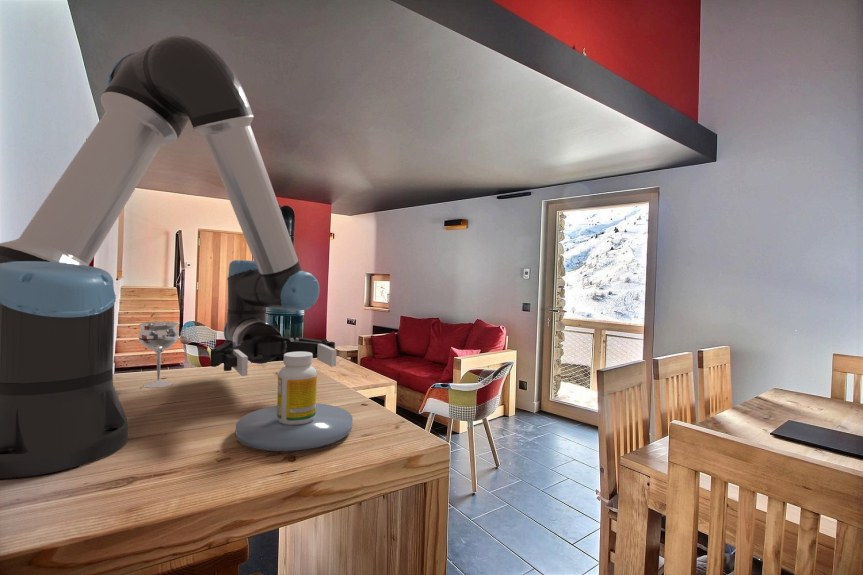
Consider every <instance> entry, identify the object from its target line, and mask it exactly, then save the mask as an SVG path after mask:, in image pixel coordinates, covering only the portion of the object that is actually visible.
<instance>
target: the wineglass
mask: <svg viewBox="0 0 863 575" xmlns="http://www.w3.org/2000/svg"><path fill="white" fill-rule="evenodd" d="M179 324H180V323H179V322H173V321H172V322H171V321H155V322H152V321H151V322H141V323H139V324H138V326H140V330H139V332H138V340H139V342H140V344H142V345H143V346H144V347H145V348H146V349H150V350H152V351H153V352H154V353H156V375H157V376H156V377H157V378H156V380H154V381H150V382H147V383H145V384H143V385H142V386H143V387H144V388H149V389H151V388H153V389H155V388H164V387H169V386H172V385H173V384H174V382H172V381H168V380H162V379H160V378H161V377H160V376H161V365H162V364H161V362H162V361H161V359H162V353H163V352H164V351H165V350H167V349H168V348H170V347H172V346H173V345H174V344H175V343H176V342H177V341H178V339H179V336H180V333H179V329H178V326H179Z"/></svg>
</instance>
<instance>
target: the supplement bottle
mask: <svg viewBox="0 0 863 575" xmlns="http://www.w3.org/2000/svg"><path fill="white" fill-rule="evenodd" d="M284 353H285V354H284V357H283V365H284V367H282V368H280V370H279V371H278V374H277V402H276V404H277V405H276V406H277V419H278V421H279V422H280V423H282V424H286V425H300V424H306V423H309V422H311V421H312V420H314V418H315V416H316V403H317V386H318V385H317V383H318V382H317V380H318V378H317V377H318V373H317V370H316V368H315V367H314V366H312V363H313V361H314V359H313V358H314V357H313V354H312V353H310V352H302V351H299V352H289V353H286V352H284Z"/></svg>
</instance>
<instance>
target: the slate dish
mask: <svg viewBox="0 0 863 575" xmlns="http://www.w3.org/2000/svg"><path fill="white" fill-rule="evenodd" d="M352 428H353V415H352V414H351V413H350V412H349V411H348V410H346V409H344V408H342V407H339V406H335V405H331V404H327V403H326V404H324V403H318V402H316V416H315V418H314V420H312V421H311V422H309V423H306V424H300V425H286V424H282V423H280V422H279V421H278V419H277V405H272V406H267V407H263V408H260V409H257V410H254V411H250V412H248V413H246V414H245V415H243V416H242V417H241V418H239V419H238V420H237V422H236V424H235V437H236V440H238V442H240V443H241V444H242V445H244V446H247V447H250V448H254V449H256V450H257V449H258V450H263V451H273V452H275V451H276V452H278V451H279V452H288V451H290V452H291V451H292V452H293V451H302V450H303V451H304V450H308V449H309V450H310V449H313V448H319V447H323V446H327V445H330V444H332V443H335V442H337V441H340V440H342V439H343V438H345V437H346V436H347V435H349V434H350V432H351V431H352V430H353V429H352Z"/></svg>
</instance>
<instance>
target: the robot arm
mask: <svg viewBox="0 0 863 575" xmlns="http://www.w3.org/2000/svg"><path fill="white" fill-rule="evenodd" d="M106 84H107V86H106V88H105V90H104V91H103V93H102V95H101V96H100V103H101V106H102V107H103V111H104V114H103V115H102V116H101V118H100V119H99V121H98V122H97V123H96V125H95V127H94V128H93V130H92V131H91V133H90V134H89V135H88V137H87V138H86V140H85V141H84V142H83V144H82V146H81V147H80V148H79V150H78V151H77V153H76V154H75V156H74V158H72V160H71V162H70V163H69V165H68V166H67V167H66V169H65V171H64V172H63V173H62V175H60V178H59V179H58V181H57V182H56V184H55V185H54V186H53V188H52V189H51V190H50V193H49V194H48V195H47V196H46V198H45V200H44V201H43V203H42V204H41V205H40V206H39V208H38V210H37V211H36V212H35V214H34V215H33V217H32V219H31V220H30V221H29V223H28V224H27V226H26V227H25V229H24V230H23V232H22V233H21V234H20V236H19V237H18V238H16V239H13V240H9V241H4V242H0V479H15V478H16V477H17V478H26V477H27V478H28V477H34V476H39V475H41V476H42V475H44V474H50V473H55V472H59V471H64V470H69V469H72V468H75V467H76V468H77V467H79V466H82V465H83V466H84V465H86V464H89V463H91V462H94V461H97V460H100V459H102V458H104V457H107V456H109V455H111V454H113V453H115V452H117V451H118V450H120V449H121V448H122V447H124V446H125V445H126V443H127V442H128V440H129V421H128V418H127V416H126V414H125V411H124V409H123V406H122V404H121V401H120V399H119V396H118V393H117V391H116V388H115V386H114V379H113V378H114V339H115V338H114V337H115V336H114V335H115V333H114V332H115V331H114V330H115V303H116V302H117V301H116V299H117V297H116V296H117V295H116V294H115V290H114V278H113V277H112V275H111V273H109V272H108V271H106V270H105V269H102V268H99V267H96V266H91V265H90V264H91V262H92V261H93V259H94V257H95V256H96V254H97V253H98V251H99V249H100V247H101V246H102V244H103V243H104V241H105V239H106V237H107V236H108V235H109V233H110V232H111V230H112V228H113V226H114V224H115V223H116V221H117V219H118V218H119V216H120V215H121V213H122V211H123V210H124V208H125V206H126V205H127V203H128V201H129V200H130V198H131V197H132V194H134V192H135V191H136V188H137V187H138V185H139V183H140V182H141V180H142V178H143V176H144V175H145V174H146V172H147V170H148V168H149V167H150V165H151V163H152V162H153V160H154V159H155V156H156V155H157V154H158V152H159V150H160V149H161V147H162V146H170V145H175V143H176V142H177V141H178V139H179V137H180V135H181V134H182V132H183V130H184V129H185V127H186V126H187V124H188V123H189V121H190V123H191V126H192V128H193V130H194V131H196V132H197V133H199V134H201V135H202V136H203V138H204V139H205V142H206V146H207V147H208V150H209V153H210V155H211V157H212V160H213V162H214V165H215V168H216V169H217V172H218V175H219V177H220V179H221V182H222V185H223V187H224V189H225V192H226V195H227V197H228V200H229V201H230V205H231V207H232V210H233V212H234V215H235V216H236V219H237V222H238V224H239V226H240V229H241V231H242V234H243V236H244V239H245V242H246V244H247V246H248V249H249V251H250V254H251V256H252V259H253V260H242V259H235V260H232V261H230V263H229V265H228V275H227V314H226V319H227V320H226V323H225V324H224V327H223V337H224V339H225V341H224V343H222V344H220V345H218V346H216V347H214V348H213V349H211V350H210V363H209V365H210V367H212V368H217V367H219V366H220V365H222V364H223V372H230V371H232V368H233V369H234V370H235V371H236V372H238V374H239V375H240V376H241V377H245V376H248V364H249V363H248V361H249V362H250V363H252V364H257V365H260V364H261V365H264V364H267V363H270V362H271V361H273V360H275V359H276V358H279V357H280V358H284V354H285V353H289V352H299V351H302V352H310V353H312V354H313V358H316V359H317V360H318V361H320V362H321V363H322V364H325V365H328V366H329V367H331V368H332V367H333V368H334V367H337V352H338V351H337V349H336V342H334V341H328V339H326V338H324V339H322V340H320V339H315V338H307V337H303V336H301V335H299V336H296V337H295V339H294V337H287V336H282V334H281V332H280V331H279V329H277V327H275V326H273V325H271V324H269V323H267V322H266V321H267V318H266V317H267V315H266V314H267V308H271V309H279V310H286V311H288V312H291V311H292V312H295V311H297V312H298V311H307V310H309V309H311V308H312V307H313V306H315V304H316V302H317V301H318V299H319V295H320V284H319V281H318V279H317V278H316V277H315V276H314V275H313V274H312V273H311V272H307V271H305V270H304V271H303V270H302V267H301V263H300V262H299V258H298V256H297V253H296V249H295V247H294V244H293V241H292V239H291V236H290V233H289V230H288V228H287V225H286V222H285V219H284V216H283V214H282V210H281V208H280V205H279V203H278V199H277V196H276V193H275V191H274V188H273V185H272V181H271V180H270V177H269V174H268V171H267V168H266V166H265V163H264V160H263V157H262V154H261V151H260V149H259V145H258V144H257V140H256V138H255V134H254V131H253V129H252V126H251V125H252V122H253V120H254V116H255V115H254V114H253V111H252V107H251V105H250V102H249V100H248V98H247V95H246V92H245V90H244V88H243V86H242V84H241V81H239V79H238V77H237V75H236V74H235V72H234V70H233V69H232V68H231V67H230V65H229V64H228V62H227V61H226V60H225V59H224V58H223V57H222V56H221V55H220V54H219V53H218V52H217V51H216V50H215V49H214V48H212V47H211V46H210V45H208V44H206V43H205V42H204V41H201V40H199V39H197V38H193V37H191V36H186V35H171V36H167V37H164V38H161V39H160V40H158V41H157V42H155V43H152V44H150V45H148V46H147V47H144V48H142V49H141V50H138V51H136V52H132V53H128V54H127V55H124V56H123V57H121V58H120V59H119V60H117V62H116V63H114V65H113V67H112V68H111V70H110V71H109V74H108V77H107V82H106ZM13 477H14V478H13ZM17 478H16V479H17Z"/></svg>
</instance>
